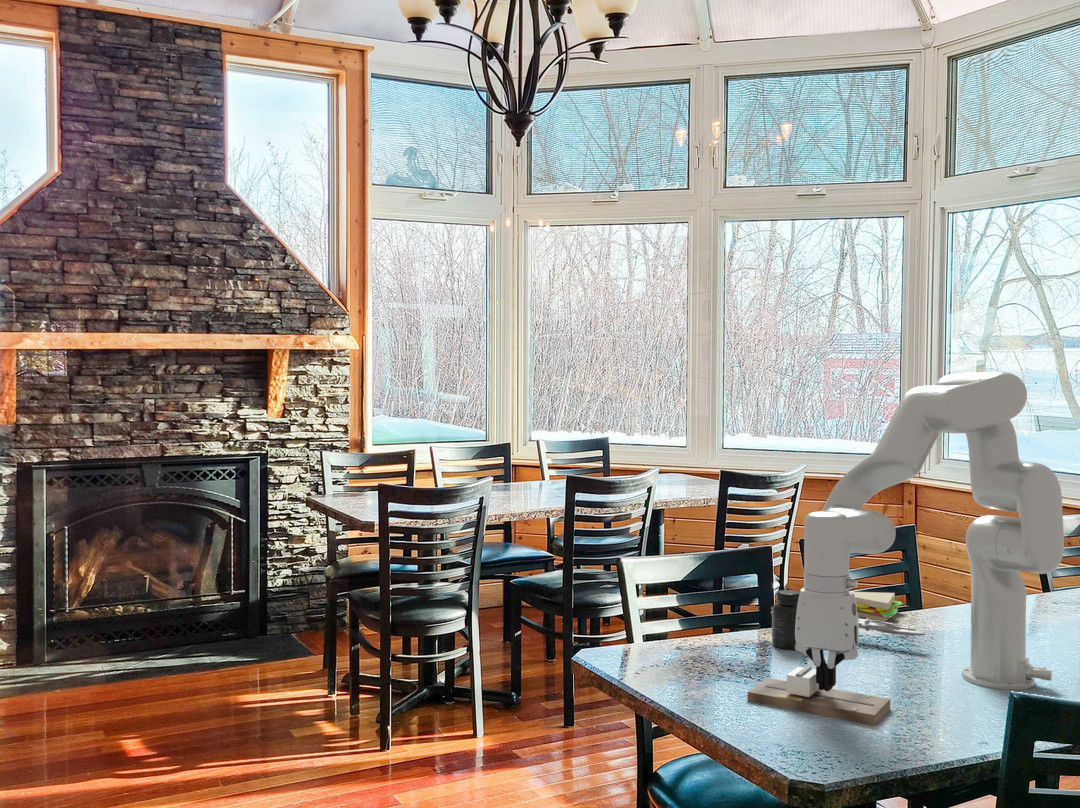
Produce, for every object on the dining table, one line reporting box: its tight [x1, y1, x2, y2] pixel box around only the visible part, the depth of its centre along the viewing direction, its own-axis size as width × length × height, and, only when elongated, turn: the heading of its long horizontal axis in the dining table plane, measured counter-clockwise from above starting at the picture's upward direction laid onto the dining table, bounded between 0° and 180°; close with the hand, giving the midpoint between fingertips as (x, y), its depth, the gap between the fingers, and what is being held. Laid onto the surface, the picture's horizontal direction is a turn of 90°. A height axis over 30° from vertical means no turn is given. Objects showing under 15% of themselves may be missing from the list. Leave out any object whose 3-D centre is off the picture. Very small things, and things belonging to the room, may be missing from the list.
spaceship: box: [769, 606, 926, 637], centre depth 215 cm, size 8×35×8 cm, turn 51°
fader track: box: [747, 677, 891, 726], centre depth 169 cm, size 22×10×2 cm, turn 56°
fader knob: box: [786, 665, 819, 697], centre depth 170 cm, size 4×6×4 cm, turn 146°
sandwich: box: [852, 591, 903, 622], centre depth 241 cm, size 15×20×5 cm
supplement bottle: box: [771, 589, 800, 651], centre depth 208 cm, size 7×7×12 cm
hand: (825, 688), depth 168 cm, fingers closed
